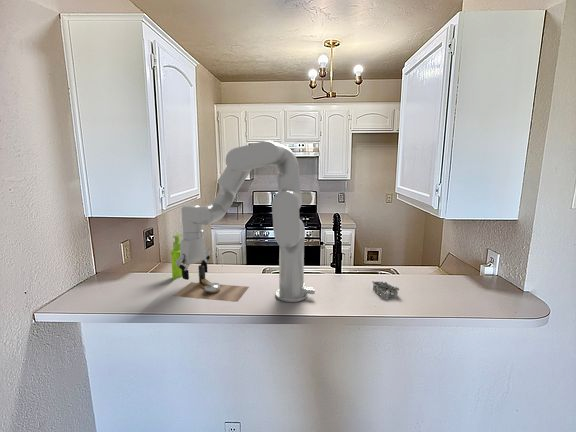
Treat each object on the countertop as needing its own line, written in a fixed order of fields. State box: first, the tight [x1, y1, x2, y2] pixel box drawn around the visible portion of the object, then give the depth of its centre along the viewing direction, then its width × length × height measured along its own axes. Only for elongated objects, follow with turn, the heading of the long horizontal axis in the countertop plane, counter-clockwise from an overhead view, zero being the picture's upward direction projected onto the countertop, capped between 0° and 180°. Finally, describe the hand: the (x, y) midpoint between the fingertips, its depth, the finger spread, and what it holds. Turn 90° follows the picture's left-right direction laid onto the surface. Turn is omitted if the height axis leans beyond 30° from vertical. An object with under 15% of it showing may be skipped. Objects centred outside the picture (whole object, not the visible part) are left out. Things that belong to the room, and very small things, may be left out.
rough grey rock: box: [371, 280, 400, 300], centre depth 122 cm, size 11×8×4 cm
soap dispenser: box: [170, 233, 185, 280], centre depth 138 cm, size 6×7×20 cm
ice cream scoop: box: [198, 264, 221, 294], centre depth 123 cm, size 15×6×7 cm, turn 36°
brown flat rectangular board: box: [173, 282, 250, 303], centre depth 120 cm, size 26×14×2 cm, turn 79°
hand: (195, 275), depth 126 cm, fingers open, 9 cm apart
